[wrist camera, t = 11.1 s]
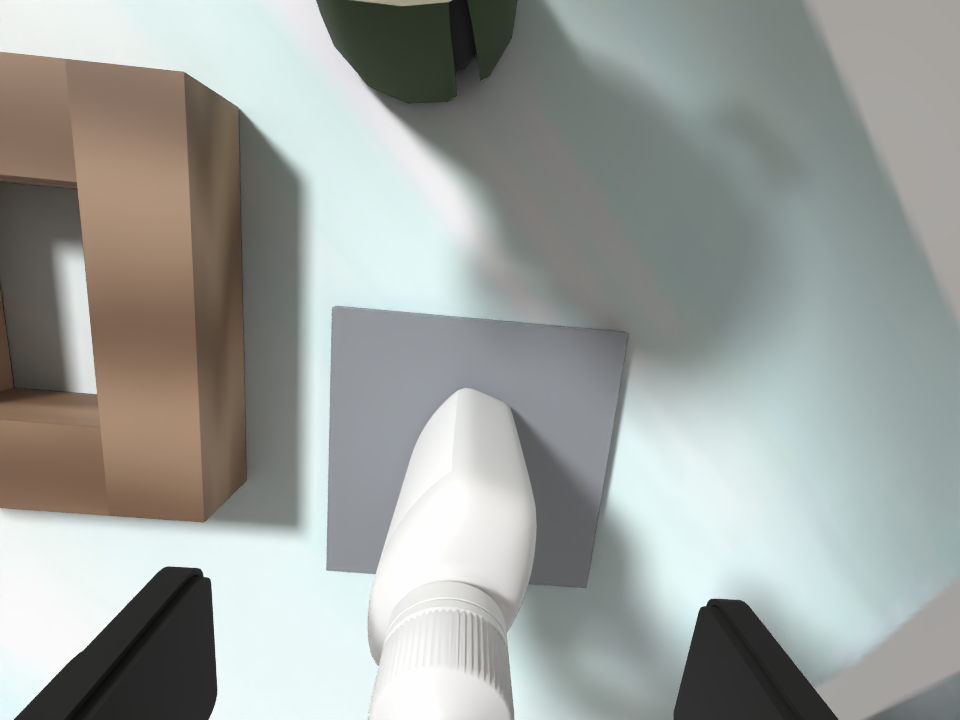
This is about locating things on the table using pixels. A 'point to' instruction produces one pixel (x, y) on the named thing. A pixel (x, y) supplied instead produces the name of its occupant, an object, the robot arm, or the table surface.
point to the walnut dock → (133, 292)
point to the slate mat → (430, 382)
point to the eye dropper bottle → (454, 568)
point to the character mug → (418, 41)
